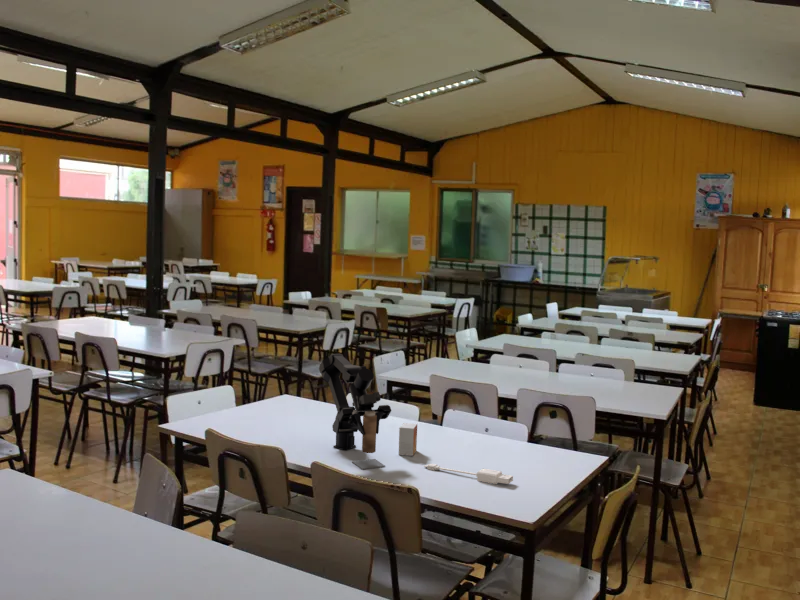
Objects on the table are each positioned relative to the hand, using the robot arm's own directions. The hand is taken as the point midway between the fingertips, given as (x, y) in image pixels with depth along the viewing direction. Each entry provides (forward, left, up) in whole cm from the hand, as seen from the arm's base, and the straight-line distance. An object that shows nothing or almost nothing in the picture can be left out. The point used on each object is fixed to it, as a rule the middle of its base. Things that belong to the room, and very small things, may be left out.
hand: (370, 434), depth 257 cm
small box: (+2, +22, -12) cm, 25 cm away
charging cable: (+33, +11, -12) cm, 37 cm away
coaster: (-1, +1, -11) cm, 11 cm away
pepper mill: (-1, +1, -7) cm, 7 cm away
